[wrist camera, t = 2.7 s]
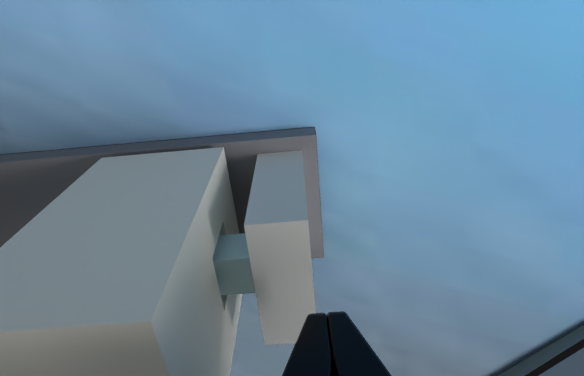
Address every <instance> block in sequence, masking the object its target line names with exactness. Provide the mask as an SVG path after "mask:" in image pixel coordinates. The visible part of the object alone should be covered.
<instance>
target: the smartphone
mask: <svg viewBox="0 0 584 376" xmlns="http://www.w3.org/2000/svg"><path fill="white" fill-rule="evenodd" d="M498 376H584V325H582V326H580V327H579V328H577V329H575V330H574V331H572V332H570V333H569V334H567V335H565V336H564V337H562V338H560V339H559V340H557V341H555V342H554V343H552V344H550V345H549V346H547V347H545V348H543V349H542V350H540V351H538V352H537V353H535V354H533V355H532V356H530V357H528V358H527V359H525V360H523V361H522V362H520V363H518V364H517V365H515V366H513V367H511V368H510V369H508V370H506V371H505V372H503V373H501V374H500V375H498Z"/></svg>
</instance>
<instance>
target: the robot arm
mask: <svg viewBox="0 0 584 376" xmlns="http://www.w3.org/2000/svg"><path fill="white" fill-rule="evenodd" d="M282 376H391V374H390V373H389V371H388V370H387V369H386V367H385V366H384V365H383V363H382V362H381V360H380V359H379V358H378V356H377V355H376V353H375V352H374V351H373V349H372V348H371V347H370V345H369V344H368V342H367V341H366V340H365V338H364V337H363V336H362V334H361V333H360V331H359V330H358V329H357V327H356V326H355V324H354V323H353V322H352V320H351V319H350V318H349V316H348V315H347V314H346V313H345V312H343V311H342V312H329V313H328V314H327V316H326V314H325V313H312V314H309V315H308V316H307V317H306V320H305V322H304V324H303V327H302V329H301V332H300V334H299V336H298V339H297V341H296V344H295V346H294V348H293V351H292V353H291V356H290V358H289V360H288V363H287V365H286V368H285V370H284V372H283V375H282Z"/></svg>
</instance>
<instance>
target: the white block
mask: <svg viewBox="0 0 584 376" xmlns="http://www.w3.org/2000/svg"><path fill="white" fill-rule="evenodd" d="M229 234H239V228H238V223H237V217H236V212H235V206H234V201H233V195H232V190H231V184H230V179H229V173H228V168H227V162H226V157H225V151H224V147H219V148H207V149H196V150H184V151H173V152H161V153H150V154H139V155H127V156H116V157H104V158H101V159H100V160H99V161H97V162H96V163H95V164H94V165H93V166H92V167H91V168H89V169H88V170H87V171H86V172H85V173H84V174H83V175H82V176H80V177H79V178H78V179H77V180H76V181H75V182H74V183H73V184H71V185H70V186H69V187H68V188H67V189H66V190H65V191H64V192H62V193H61V194H60V195H59V196H58V197H57V198H56V199H55V200H53V201H52V202H51V203H50V204H49V205H48V206H47V207H45V208H44V209H43V210H42V211H41V212H40V213H39V214H38V215H36V216H35V217H34V218H33V219H32V220H31V221H30V222H29V223H27V224H26V225H25V226H24V227H23V228H22V229H21V230H20V231H18V232H17V233H16V234H15V235H14V236H13V237H12V238H11V239H9V240H8V241H7V242H6V243H5V244H4V245H3V246H1V247H0V376H230V371H231V365H232V358H233V352H234V345H235V339H236V332H237V326H238V319H239V313H240V306H241V300H242V294H232V295H221V294H220V290H219V285H218V281H217V277H216V272H215V268H214V263H213V259H212V258H213V255H214V251H215V248H216V244H217V241H218V237H219V235H229Z"/></svg>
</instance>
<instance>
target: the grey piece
mask: <svg viewBox="0 0 584 376" xmlns="http://www.w3.org/2000/svg"><path fill="white" fill-rule="evenodd" d="M219 147H224V151H225V157H226V162H227V168H228V173H229V179H230V184H231V190H232V195H233V201H234V206H235V212H236V217H237V223H238V228H239V234H229V235H219V237H218V241H217V244H216V248H215V251H214V255H213V258H212V259H213V263H214V268H215V272H216V277H217V281H218V285H219V290H220V294H221V295H232V294H245V293H256V298H257V304H258V310H259V315H260V321H261V327H262V333H263V338H264V344H265V345H278V344H293V343H296V341H297V339H298V336H299V334H300V332H301V329H302V327H303V324H304V322H305V320H306V317H307V316H308V315H309V314H312V313H316V310H315V298H314V286H313V274H312V262H311V258H324V249H323V233H322V218H321V202H320V186H319V170H318V155H317V139H316V131H315V127H310V128H299V129H287V130H276V131H265V132H253V133H242V134H231V135H219V136H208V137H197V138H185V139H174V140H163V141H151V142H140V143H129V144H117V145H106V146H95V147H84V148H72V149H61V150H50V151H38V152H27V153H16V154H4V155H0V247H1V246H3V245H4V244H5V243H6V242H7V241H8V240H9V239H11V238H12V237H13V236H14V235H15V234H16V233H17V232H18V231H20V230H21V229H22V228H23V227H24V226H25V225H26V224H27V223H29V222H30V221H31V220H32V219H33V218H34V217H35V216H36V215H38V214H39V213H40V212H41V211H42V210H43V209H44V208H45V207H47V206H48V205H49V204H50V203H51V202H52V201H53V200H55V199H56V198H57V197H58V196H59V195H60V194H61V193H62V192H64V191H65V190H66V189H67V188H68V187H69V186H70V185H71V184H73V183H74V182H75V181H76V180H77V179H78V178H79V177H80V176H82V175H83V174H84V173H85V172H86V171H87V170H88V169H89V168H91V167H92V166H93V165H94V164H95V163H96V162H97V161H99V160H100V159H101V158H104V157H116V156H127V155H139V154H150V153H161V152H173V151H184V150H196V149H207V148H219Z"/></svg>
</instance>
